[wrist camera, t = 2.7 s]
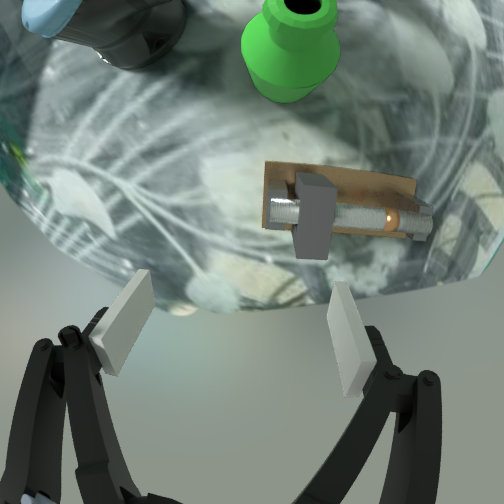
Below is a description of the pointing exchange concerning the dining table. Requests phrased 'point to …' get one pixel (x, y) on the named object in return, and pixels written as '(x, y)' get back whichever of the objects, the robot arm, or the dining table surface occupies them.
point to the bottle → (291, 47)
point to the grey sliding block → (314, 216)
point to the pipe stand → (350, 201)
